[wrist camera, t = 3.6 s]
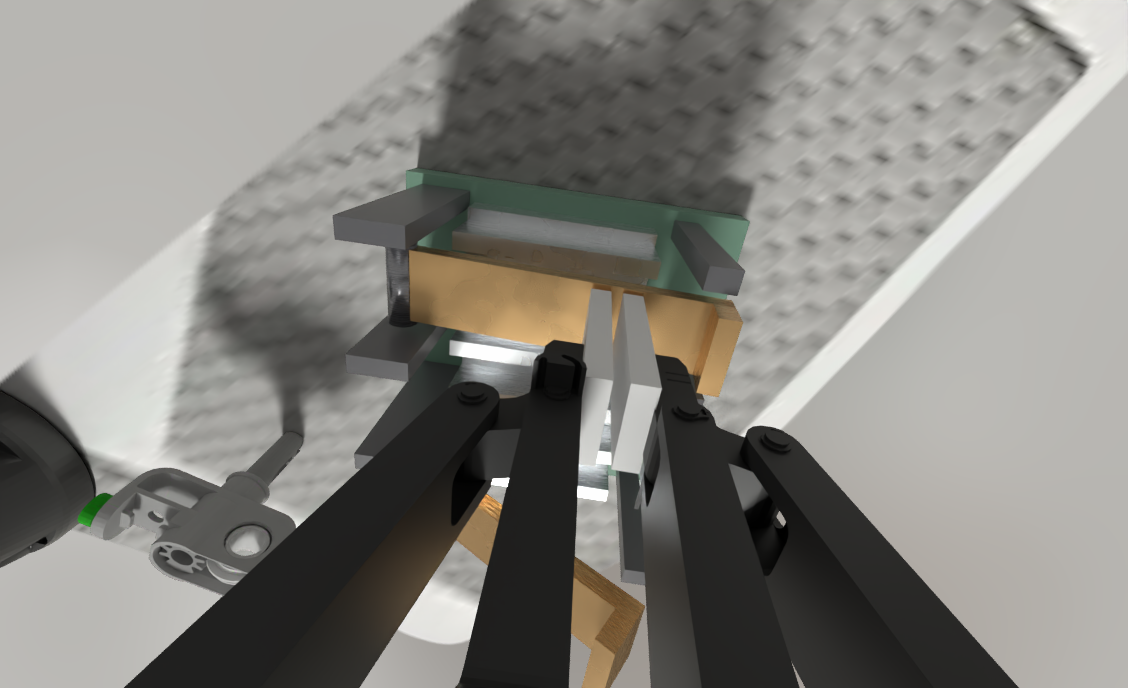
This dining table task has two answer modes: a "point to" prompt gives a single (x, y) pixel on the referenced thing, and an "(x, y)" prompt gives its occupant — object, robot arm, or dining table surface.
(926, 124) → the dining table surface
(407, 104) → the dining table surface
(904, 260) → the dining table surface
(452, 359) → the socket board
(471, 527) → the strap
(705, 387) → the strap
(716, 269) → the set of grey pegs
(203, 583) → the mechanical component
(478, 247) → the heatsink
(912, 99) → the dining table surface
